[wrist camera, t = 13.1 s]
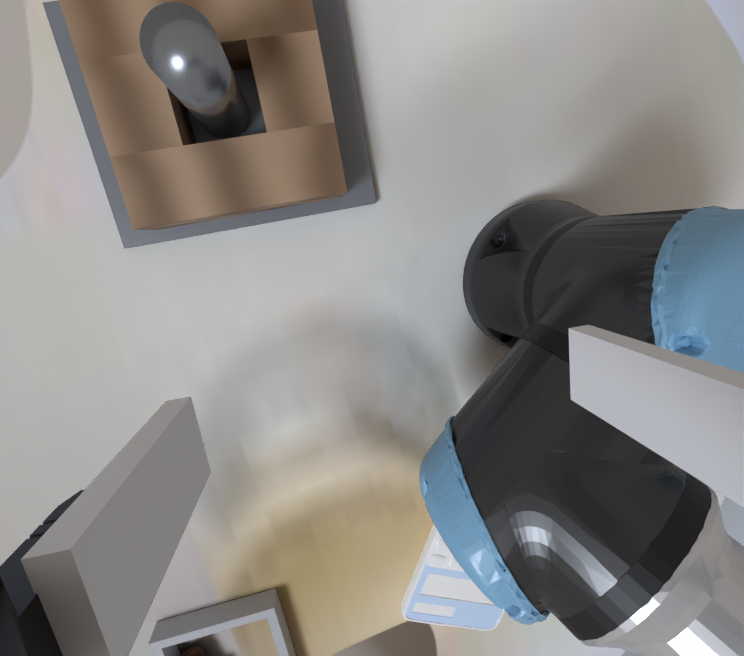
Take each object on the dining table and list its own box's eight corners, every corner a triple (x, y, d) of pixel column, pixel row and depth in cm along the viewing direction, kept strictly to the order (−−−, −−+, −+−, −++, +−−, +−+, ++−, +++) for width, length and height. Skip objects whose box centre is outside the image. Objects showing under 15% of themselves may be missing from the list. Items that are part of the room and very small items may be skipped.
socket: (335, -24, 33) (342, -78, 27) (374, 203, 38) (387, 198, 32) (50, 9, 31) (-9, -42, 25) (129, 247, 35) (94, 250, 29)
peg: (242, 82, 33) (207, -3, 21) (255, 135, 34) (228, 80, 22) (192, 90, 32) (128, 7, 21) (206, 143, 33) (153, 92, 22)
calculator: (550, 489, 49) (560, 499, 47) (490, 621, 53) (496, 635, 51) (453, 467, 46) (460, 476, 44) (396, 609, 50) (399, 623, 48)
